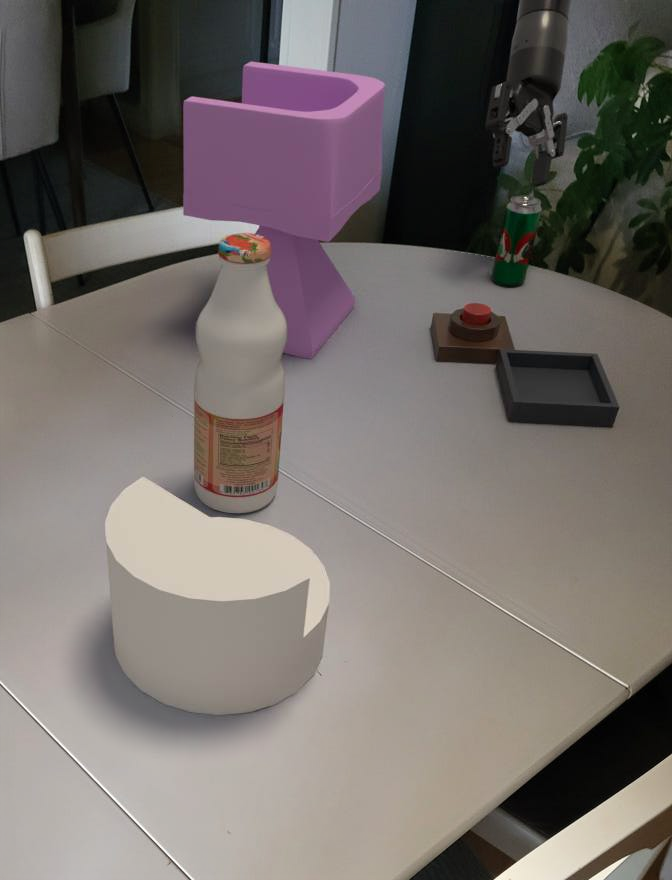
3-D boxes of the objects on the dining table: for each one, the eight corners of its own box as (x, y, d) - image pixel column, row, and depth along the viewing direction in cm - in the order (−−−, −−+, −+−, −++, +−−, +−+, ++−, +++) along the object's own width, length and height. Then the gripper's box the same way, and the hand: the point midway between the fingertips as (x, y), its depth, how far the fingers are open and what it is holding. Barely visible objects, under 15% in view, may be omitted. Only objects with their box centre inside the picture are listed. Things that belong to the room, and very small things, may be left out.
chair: (241, 280, 150) (249, 60, 130) (364, 306, 144) (393, 78, 123) (183, 334, 137) (182, 99, 117) (316, 365, 131) (340, 122, 110)
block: (501, 330, 138) (508, 303, 136) (511, 364, 131) (518, 336, 128) (430, 327, 139) (435, 300, 136) (436, 361, 132) (441, 333, 129)
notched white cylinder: (367, 637, 93) (386, 525, 83) (219, 751, 83) (222, 637, 73) (217, 544, 103) (219, 435, 94) (70, 635, 93) (56, 522, 84)
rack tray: (591, 372, 130) (597, 353, 128) (612, 427, 120) (619, 407, 118) (495, 368, 130) (499, 348, 129) (508, 421, 121) (513, 401, 119)
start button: (486, 315, 134) (489, 303, 133) (490, 327, 131) (492, 315, 130) (460, 314, 134) (462, 302, 133) (462, 326, 131) (465, 314, 130)
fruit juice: (176, 491, 110) (173, 242, 91) (233, 458, 115) (241, 215, 95) (237, 526, 105) (248, 271, 86) (294, 490, 110) (316, 241, 91)
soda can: (527, 277, 151) (546, 197, 143) (520, 290, 148) (540, 209, 140) (494, 271, 153) (511, 192, 144) (487, 284, 149) (504, 203, 141)
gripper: (526, 27, 131) (508, 152, 132) (591, 67, 139) (573, 184, 140) (482, 47, 137) (466, 166, 139) (546, 84, 145) (530, 196, 146)
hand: (520, 175), depth 139 cm, fingers open, 8 cm apart
